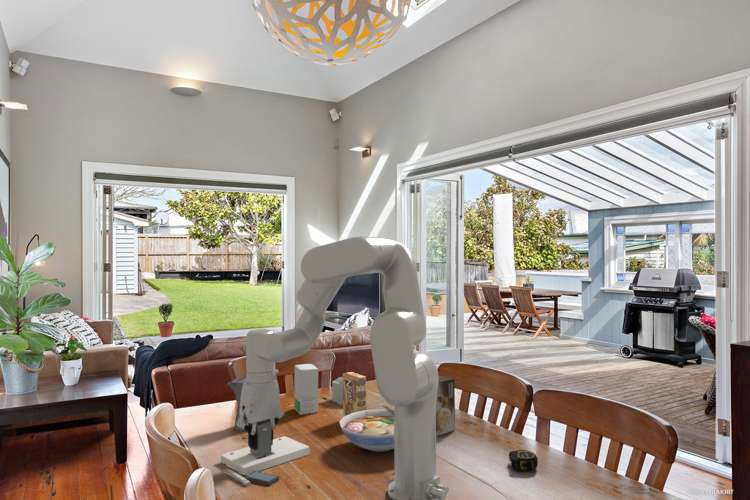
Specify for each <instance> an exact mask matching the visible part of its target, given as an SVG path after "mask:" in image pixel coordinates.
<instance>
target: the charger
mask: <svg viewBox="0 0 750 500" xmlns="http://www.w3.org/2000/svg"><path fill="white" fill-rule="evenodd" d="M255 434H257V450H253V449H252V448H250V452H251V453H253V454H255V455H257V456H261V455H264V454H267V453H271V422H270V421H268V420H265V421H261V422H257V426H256V433H255Z"/></svg>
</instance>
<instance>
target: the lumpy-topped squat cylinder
mask: <svg viewBox="0 0 750 500" xmlns="http://www.w3.org/2000/svg"><path fill="white" fill-rule="evenodd" d="M331 384H332V386H331V387H332V390H331V391H332V393H331V394H332V397H331V398H332V399H331V400H332V402H333V401H334V402H333V403H335V402H337V403H336V404H339V403H341V404H340V405H343V376H340V377H337V378H336V379H335V380H332V382H331ZM367 387H368V383H367V381H366V403H367V402H368V388H367ZM367 404H368V403H367Z"/></svg>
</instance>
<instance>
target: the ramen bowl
mask: <svg viewBox="0 0 750 500" xmlns="http://www.w3.org/2000/svg"><path fill="white" fill-rule="evenodd" d="M382 407H383V408H384V409H381V408H380V409H367V410H365V411H360V412H355V413H351V414H349V415H347V416H344V415H343V417H342V418H341V419H340V420H339V422H338V423H339V426H340V429H341V430H342V432H343V434H344V435H345V437H346V438H347V439H348V441H349V442H351V443H352V444H354V445H356V446H357V447H359V448H360V449H361V448H362V449H366V450H369V451H371V452H375V453H385V452H389V451H391V450H394V409H392V408H389V407H388V406H386V405H382Z"/></svg>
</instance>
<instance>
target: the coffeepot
mask: <svg viewBox="0 0 750 500" xmlns="http://www.w3.org/2000/svg"><path fill="white" fill-rule="evenodd" d="M243 383H246V375H244V376H240V377H237V378H234V379H233V380H232V381H231V380H230V381H229V382H227V386H229V387H230V388H231V390H232V392H233V393H234V395H235V401H236V403H237V408H236V414H235V419H234V420H235V421H234V428H233V429H234V430H236V431H237V430H240V431H239V432H246V431H245V430H244V429H243V428H241V427H238V426H237V425H236V423H237V421H238V419H239V417H240V399H241V392H242V387H243ZM244 424H246V425H247V420H245V421H244Z"/></svg>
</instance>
